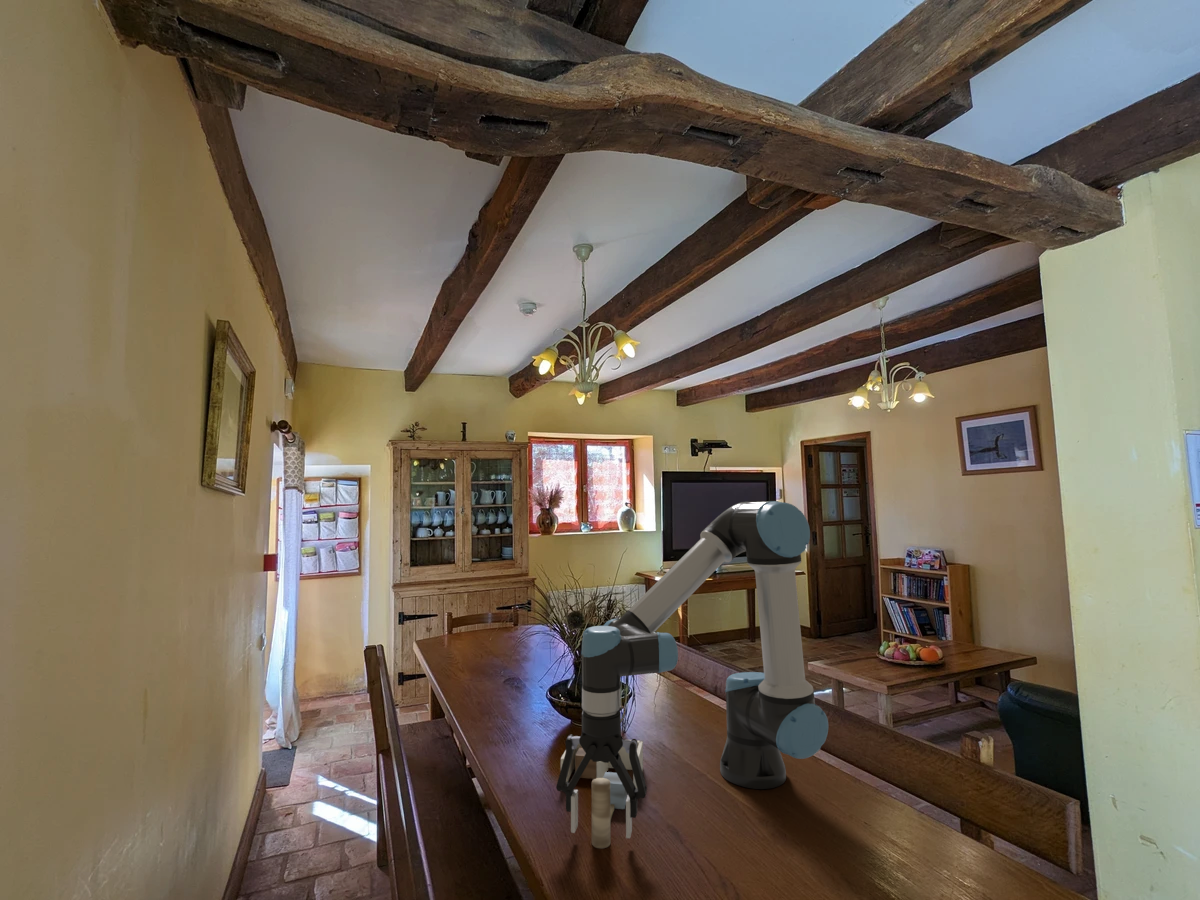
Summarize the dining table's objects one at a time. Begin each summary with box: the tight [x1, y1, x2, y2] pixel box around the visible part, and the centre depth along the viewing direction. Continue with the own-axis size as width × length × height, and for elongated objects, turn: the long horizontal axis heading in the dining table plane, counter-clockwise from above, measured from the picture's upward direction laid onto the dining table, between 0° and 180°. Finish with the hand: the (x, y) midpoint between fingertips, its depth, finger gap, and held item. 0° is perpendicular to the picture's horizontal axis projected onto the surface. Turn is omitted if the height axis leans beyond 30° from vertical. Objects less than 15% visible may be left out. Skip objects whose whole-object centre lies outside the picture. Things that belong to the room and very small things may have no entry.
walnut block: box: [574, 747, 597, 780], centre depth 139 cm, size 5×5×5 cm
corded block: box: [591, 771, 628, 849], centre depth 119 cm, size 20×5×11 cm, turn 169°
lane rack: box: [560, 735, 644, 789], centre depth 136 cm, size 13×17×6 cm
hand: (601, 831), depth 110 cm, fingers open, 10 cm apart
